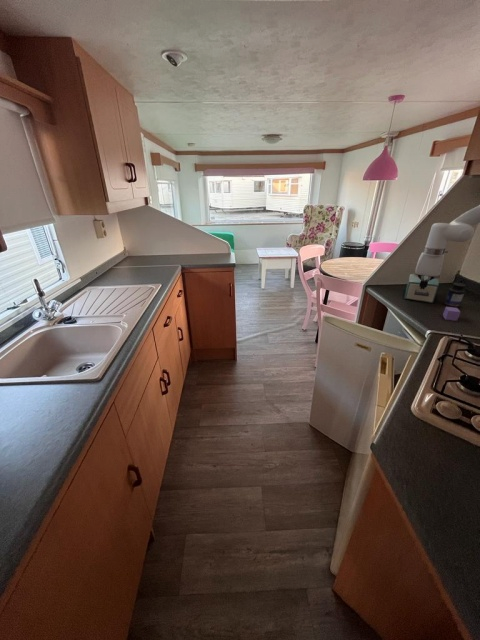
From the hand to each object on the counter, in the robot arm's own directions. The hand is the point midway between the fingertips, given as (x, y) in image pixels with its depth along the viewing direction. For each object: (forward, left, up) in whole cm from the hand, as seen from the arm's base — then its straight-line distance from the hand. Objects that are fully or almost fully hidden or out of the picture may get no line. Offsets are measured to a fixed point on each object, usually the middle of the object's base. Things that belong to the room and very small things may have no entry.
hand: (422, 288), depth 132 cm
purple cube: (-10, +15, -8) cm, 20 cm away
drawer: (-1, -6, -7) cm, 9 cm away
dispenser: (-2, -10, -8) cm, 13 cm away
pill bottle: (-15, -1, -8) cm, 17 cm away
